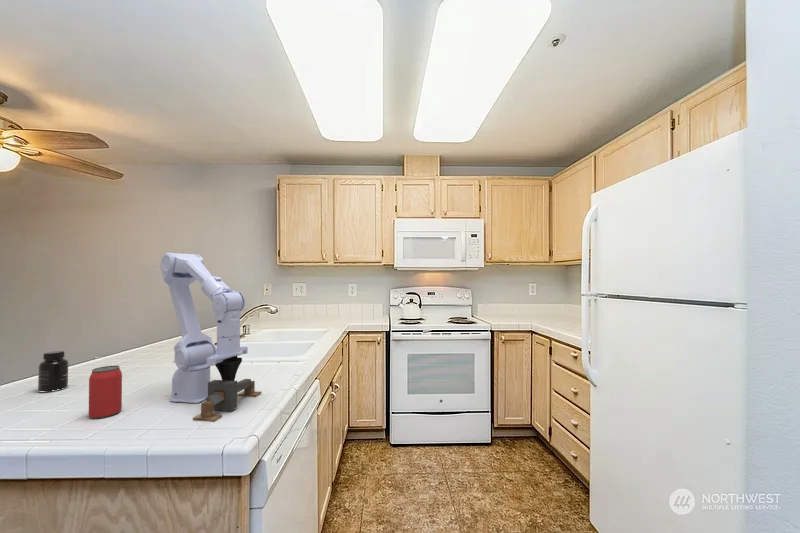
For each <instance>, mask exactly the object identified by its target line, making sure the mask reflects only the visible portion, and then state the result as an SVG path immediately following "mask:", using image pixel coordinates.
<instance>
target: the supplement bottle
mask: <svg viewBox="0 0 800 533" xmlns="http://www.w3.org/2000/svg"><path fill="white" fill-rule="evenodd" d="M64 357H65V351H64V350H56V351H49V352H44V353H43V357H42V360H43V361H42V362H40V363H39V365H38V375H37V376H38V380H37V385H38V386H37V391H38V392H39V391H52V390H57V389H62V388H65V387H68V385H69V361H68V360H67V359H66V358H64ZM65 389H66V388H65ZM62 390H63V389H62Z"/></svg>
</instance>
